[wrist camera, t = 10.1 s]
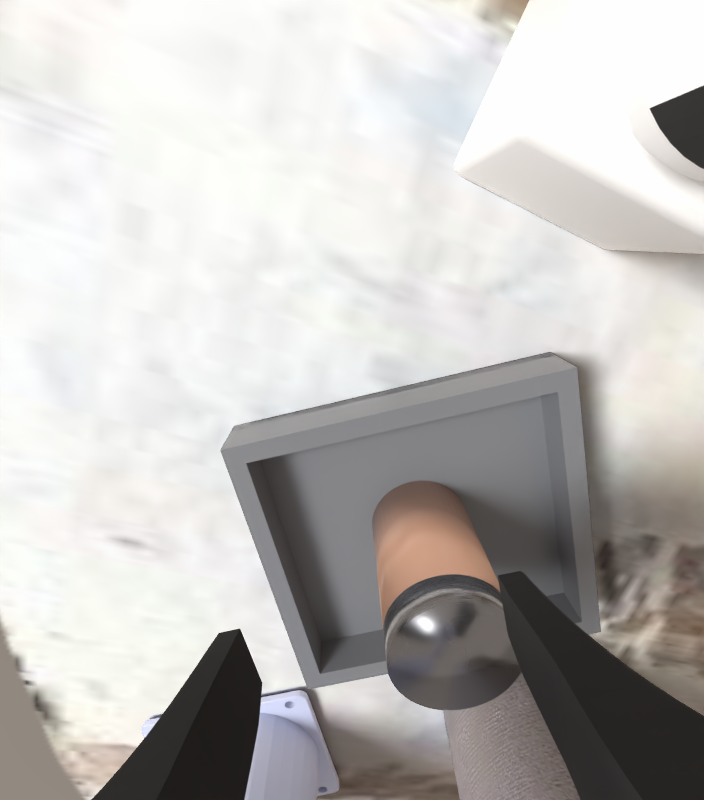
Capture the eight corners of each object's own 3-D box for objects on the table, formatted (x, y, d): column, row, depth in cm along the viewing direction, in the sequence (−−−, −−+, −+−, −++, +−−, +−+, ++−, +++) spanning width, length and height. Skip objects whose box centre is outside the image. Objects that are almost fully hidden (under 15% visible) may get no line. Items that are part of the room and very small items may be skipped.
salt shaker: (384, 570, 23) (403, 722, 16) (361, 494, 21) (371, 621, 14) (474, 550, 23) (534, 694, 15) (456, 470, 21) (514, 589, 14)
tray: (311, 646, 25) (308, 689, 23) (234, 425, 21) (220, 449, 19) (575, 593, 24) (600, 631, 22) (549, 351, 20) (577, 367, 18)
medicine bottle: (720, 60, 17) (1507, -313, 5) (606, 252, 19) (1005, 274, 7) (548, -44, 16) (1077, -773, 4) (448, 172, 18) (632, 56, 6)
